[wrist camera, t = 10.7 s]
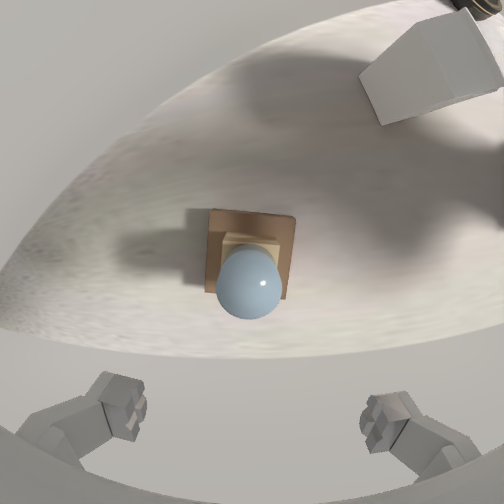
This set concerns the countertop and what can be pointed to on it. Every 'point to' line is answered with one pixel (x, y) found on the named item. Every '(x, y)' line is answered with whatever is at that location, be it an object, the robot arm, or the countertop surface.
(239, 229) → the walnut pedestal
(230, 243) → the oak cube
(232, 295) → the ceramic cylinder
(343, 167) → the countertop surface
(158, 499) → the robot arm
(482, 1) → the jar
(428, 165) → the countertop surface
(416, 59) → the milk carton
